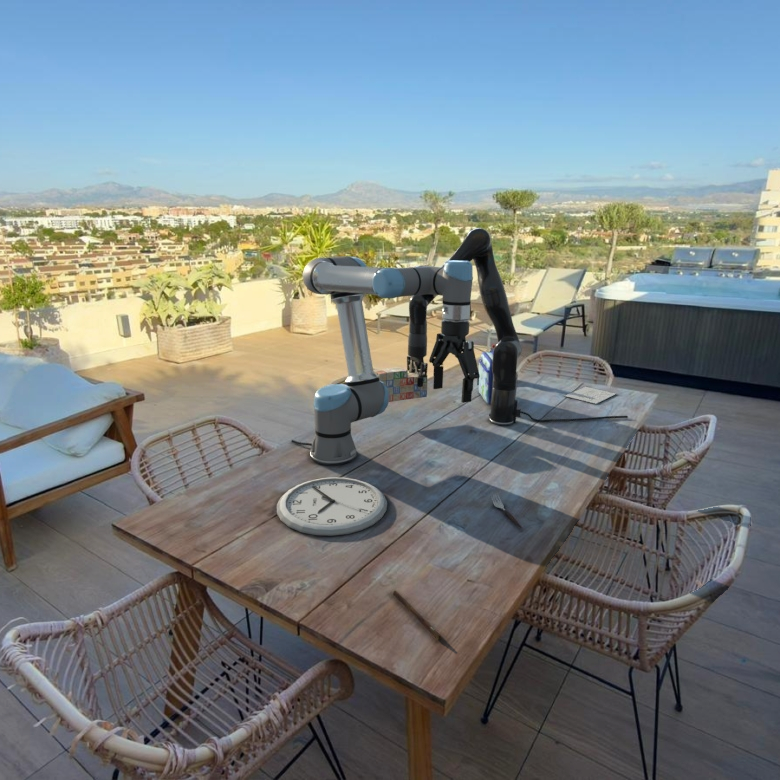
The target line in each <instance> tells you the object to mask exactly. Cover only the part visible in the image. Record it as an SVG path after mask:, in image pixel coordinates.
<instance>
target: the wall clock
mask: <svg viewBox="0 0 780 780" xmlns="http://www.w3.org/2000/svg"><path fill="white" fill-rule="evenodd" d="M387 509H388V500H387V498H386V496H385V494H384V493H383V492H382V491H381V490H380V489H379V488H377V487H376V486H374V485H372V484H371V483H369V482H365V481H362V480H359V479H355V478H349V477H338V476H337V477H335V476H333V477H332V476H331V477H322V478H317V479H312V480H307V481H305V482H302V483H299V484H297V485H295V486H293V487H292V488H290V489H288V490H287V491H286V492H285V493H284V494H283V495H281V496H280V498H279V499H278V502H277V503H276V515H277V517H278V518H279V520H280V521H281V522H282V523H283V524H285V525H286V526H287V527H288V528H290V529H293V530H295V531H297V532H299V533H303V534H308V535H312V536H327V537H328V536H329V537H331V536H332V537H333V536H342V535H350V534H352V533H356V532H361V531H363V530H366V529H368V528H369V527H372V526H373V525H375V524H376V523H378V522H379V521H380V520H381V519H382V518H383V517H384V516H385V514H386V512H387Z"/></svg>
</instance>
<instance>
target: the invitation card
mask: <svg viewBox="0 0 780 780" xmlns="http://www.w3.org/2000/svg"><path fill="white" fill-rule="evenodd" d="M615 395H616V392H611V391H606V390H602V389H597V388H593V387H588V386H583V387H581V388H579V389H576V390H573V391H572V392H570V393H568V394H564V397H566V398H570V399H574V400H579V401H583V402H587V403H590V404H593V405H597V404H599V403H601V402H603V401H605V400H607V399H609V398H612V397H613V396H615Z"/></svg>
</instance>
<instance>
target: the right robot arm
mask: <svg viewBox="0 0 780 780" xmlns="http://www.w3.org/2000/svg"><path fill="white" fill-rule="evenodd" d="M452 260H456V261H469V262H471V261H473V263H474V266H475V269H476V274H477V284H478V290H479V295H480V299H481V302H482V306H483V310H484V312H485V313H486V315H487V317H488V318H489V320H490V322H491V323H492V325H493V327H494V330H495V335H496V339H497V343H496V344H495V345H496V346H495V348H494V351H493V364H492V372H493V385H492V398H491V404H490V410H489V411H490V413H489V414H488V417H489V422H490V423H491V424H494V425H497V426H511V425H513V424H516V423H517V418H520V417H521V415H525V416H527V417H528V418H529V419H530V420H531V421H533V422H538V423H539V422H540V423H545V422H576V421H577V422H578V421H579V422H580V421H590V420H591V421H592V420H602V419H603V420H605V419H628V417H629V416H628V415H606V416H595V417H581V418H580V417H579V418H550V419H549V418H547V419H537V418H534V417H532V415H531V414H529V413H528V412H525V411H523V410H521V408H520V407H518V399H517V388H518V377H519V376H518V372H517V367H518V359H519V358H520V357H521V355H522V351H523V350H522V349H523V347H522V343H521V341H520V339H519V336H518V333H517V331H516V328H515V326H514V322H513V318H512V312H511V309H510V308H511V307H510V304H509V300H508V296H507V293H506V288H505V286H504V283H503V280H502V277H501V274H500V272H499V269H498V266H497V264H496V261H495V255H494V249H493V241H492V236H491V235H490V233H489V232H488V230H486V229H485V228H481V227H477V228H473V229H472V230H470V231H469V232H468V234H467V235H466V237H465V238H464V240H463V241H462V242H461V244H460V245H459V246H458V248H457V250H456V251H454V253H453V254H452V255H451V257H449V258H448V259H447V261H452ZM440 267H442V268H443V267H444V264H442V265H441V266H440ZM436 297H439V295H434V294H424V295H414V296H410V299H409V301H408V313H409V314H408V315H409V323H408V338H407V356H406V370H408V373H413V372H416V373H417V376H418V381H417V386H418V387H422V386H423V378H424V377H427V378H428V366H429V364H428V362H425V361H424V358H425V357H426V356H427V354H428V321H427V311H428V306H429V305H430V304H431V303H432V302H433V301H434V299H436ZM419 372H420V373H419Z"/></svg>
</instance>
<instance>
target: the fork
mask: <svg viewBox="0 0 780 780" xmlns="http://www.w3.org/2000/svg"><path fill="white" fill-rule="evenodd" d="M496 494H497V495H496ZM489 495H490V497H491V501H492V503H493V506H494V507H495V508H498V509H501V510H503V512H504V513H505V515H506V516H507V517H508V519H509V520H511V521H512V522H513V523H514V524H515V525H517V527H519V528H520V529H523V527H522V526H521V524H520V523H519V521H518V520H517V519H516V518H515V516H514V515H513V514H511V513H510V512H509V511H508V510H506V509H505V508H504V503H503V502H502V500H501V498H500V495H499V493H498V492H497V493H494V494H491V493H490V494H489Z"/></svg>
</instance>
